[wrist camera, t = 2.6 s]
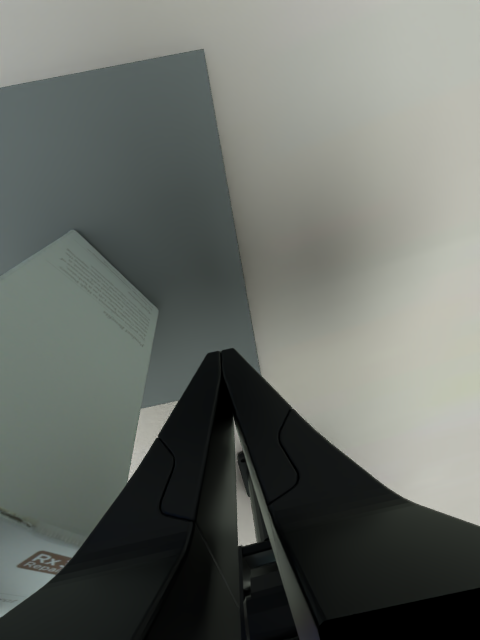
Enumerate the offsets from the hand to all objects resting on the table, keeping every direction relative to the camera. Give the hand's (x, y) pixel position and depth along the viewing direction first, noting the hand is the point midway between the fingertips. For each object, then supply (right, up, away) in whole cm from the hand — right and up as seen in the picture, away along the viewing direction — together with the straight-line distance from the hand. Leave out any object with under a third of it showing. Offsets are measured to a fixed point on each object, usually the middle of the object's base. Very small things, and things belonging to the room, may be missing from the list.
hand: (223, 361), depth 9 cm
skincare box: (-7, +3, +7) cm, 10 cm away
